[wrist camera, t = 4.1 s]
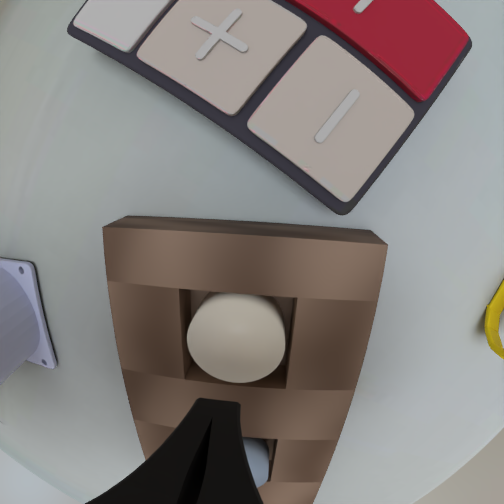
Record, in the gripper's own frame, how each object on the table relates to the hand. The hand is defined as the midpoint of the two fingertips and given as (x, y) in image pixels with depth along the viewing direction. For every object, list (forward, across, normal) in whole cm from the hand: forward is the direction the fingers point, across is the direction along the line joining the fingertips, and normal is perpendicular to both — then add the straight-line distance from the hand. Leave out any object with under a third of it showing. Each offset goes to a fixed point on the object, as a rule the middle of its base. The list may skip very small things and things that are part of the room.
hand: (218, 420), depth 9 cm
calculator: (+8, -1, -15) cm, 17 cm away
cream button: (+7, 0, 0) cm, 7 cm away
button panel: (+7, 0, +9) cm, 12 cm away
